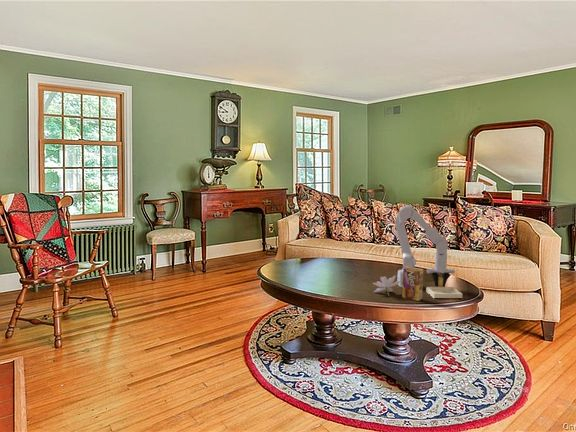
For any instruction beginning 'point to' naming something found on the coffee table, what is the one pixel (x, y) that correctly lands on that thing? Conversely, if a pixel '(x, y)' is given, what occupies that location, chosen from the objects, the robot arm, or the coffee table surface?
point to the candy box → (412, 283)
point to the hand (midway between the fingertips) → (439, 286)
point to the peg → (440, 282)
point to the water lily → (386, 284)
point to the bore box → (443, 292)
